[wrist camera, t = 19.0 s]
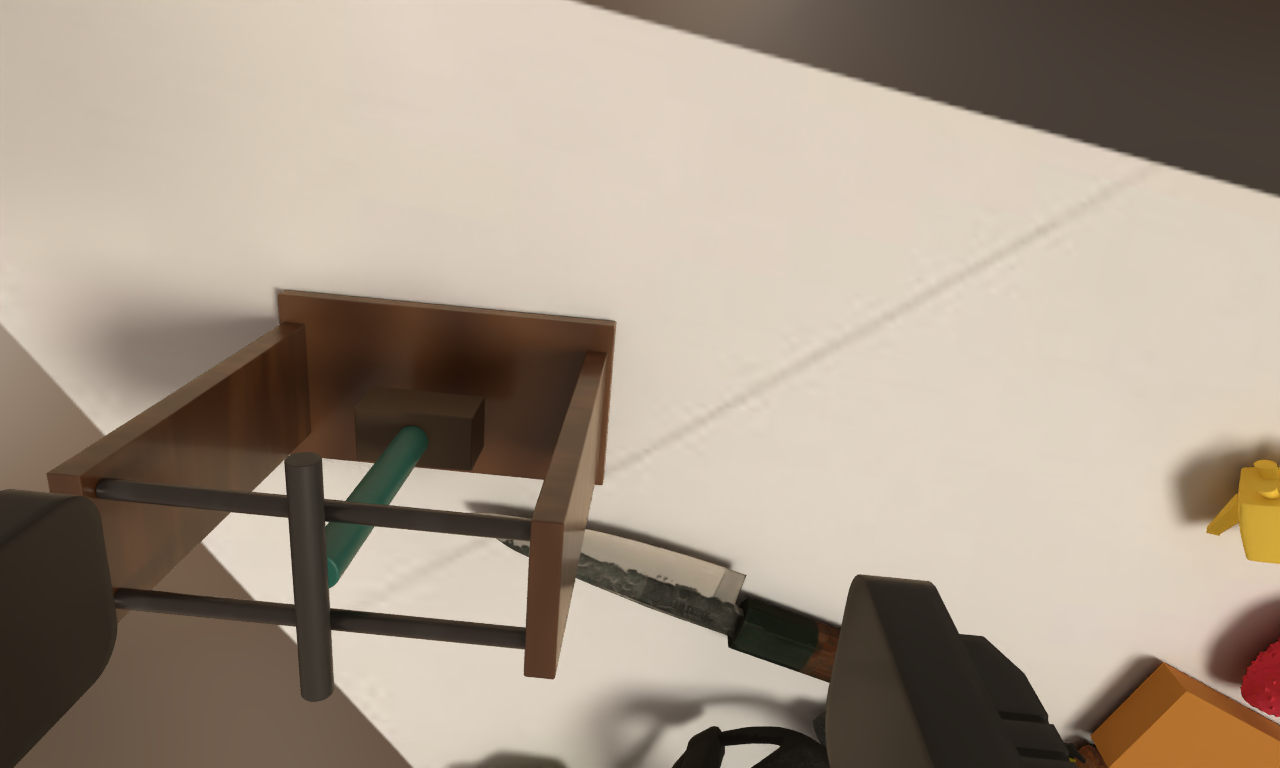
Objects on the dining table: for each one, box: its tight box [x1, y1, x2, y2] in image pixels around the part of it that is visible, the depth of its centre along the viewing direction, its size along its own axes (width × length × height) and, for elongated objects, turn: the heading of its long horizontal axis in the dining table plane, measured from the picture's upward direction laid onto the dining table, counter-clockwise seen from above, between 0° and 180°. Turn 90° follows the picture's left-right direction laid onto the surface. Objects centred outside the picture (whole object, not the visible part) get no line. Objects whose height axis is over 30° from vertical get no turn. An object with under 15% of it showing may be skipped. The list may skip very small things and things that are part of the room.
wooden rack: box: [47, 290, 616, 679], centre depth 40 cm, size 19×10×20 cm, turn 85°
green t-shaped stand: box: [284, 387, 485, 702], centre depth 38 cm, size 6×10×16 cm, turn 175°
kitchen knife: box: [472, 513, 841, 683], centre depth 52 cm, size 36×2×5 cm
